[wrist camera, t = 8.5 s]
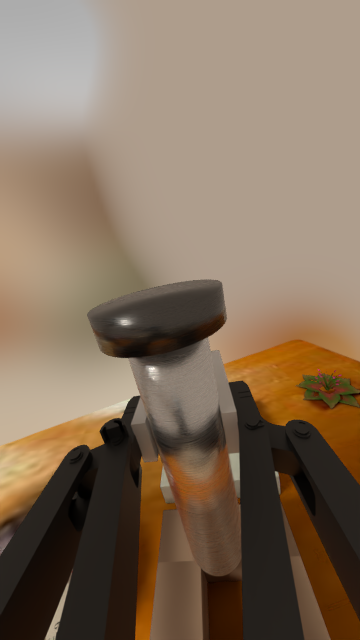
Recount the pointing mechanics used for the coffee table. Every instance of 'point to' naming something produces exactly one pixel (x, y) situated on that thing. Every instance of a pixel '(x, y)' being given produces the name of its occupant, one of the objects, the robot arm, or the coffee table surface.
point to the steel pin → (181, 404)
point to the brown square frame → (191, 588)
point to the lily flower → (331, 382)
